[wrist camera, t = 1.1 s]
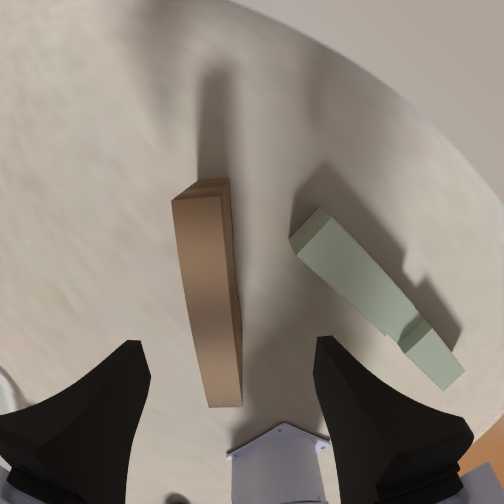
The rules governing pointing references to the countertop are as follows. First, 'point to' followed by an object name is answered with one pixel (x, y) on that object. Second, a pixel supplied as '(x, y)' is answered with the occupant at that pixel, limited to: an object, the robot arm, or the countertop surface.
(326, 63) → the countertop surface
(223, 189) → the walnut plate
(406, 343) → the slotted rail
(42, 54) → the countertop surface
